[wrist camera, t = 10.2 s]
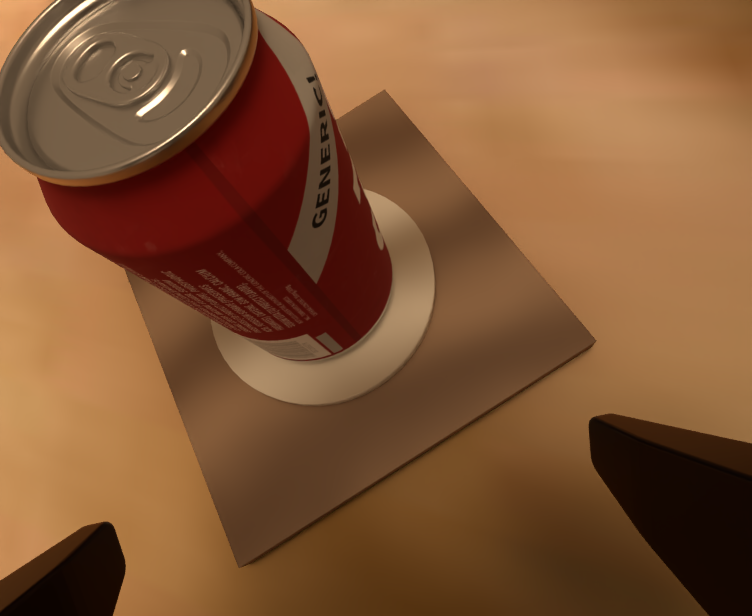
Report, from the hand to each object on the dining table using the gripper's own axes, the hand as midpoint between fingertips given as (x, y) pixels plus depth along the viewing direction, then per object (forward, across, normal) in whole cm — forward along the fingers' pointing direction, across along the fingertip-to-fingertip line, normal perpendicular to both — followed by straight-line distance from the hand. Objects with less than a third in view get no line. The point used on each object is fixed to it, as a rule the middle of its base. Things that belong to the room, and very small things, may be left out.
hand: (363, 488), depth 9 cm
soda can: (+12, 0, -2) cm, 12 cm away
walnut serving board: (+14, 0, -1) cm, 14 cm away
